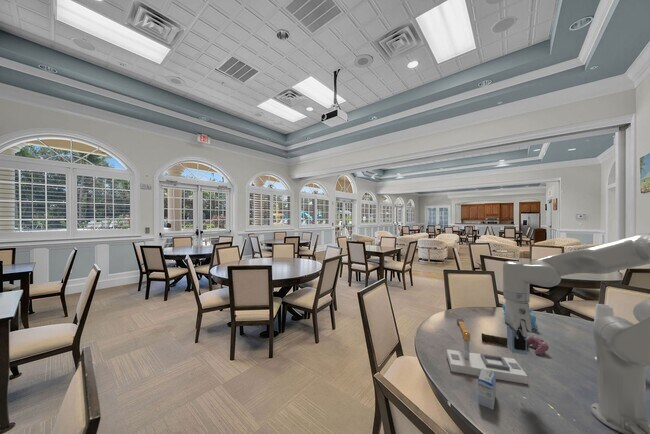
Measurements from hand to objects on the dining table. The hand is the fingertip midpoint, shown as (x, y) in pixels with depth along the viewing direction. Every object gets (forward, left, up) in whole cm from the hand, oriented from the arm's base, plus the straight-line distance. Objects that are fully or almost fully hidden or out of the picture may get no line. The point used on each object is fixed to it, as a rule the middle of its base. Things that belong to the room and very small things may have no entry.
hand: (516, 345), depth 88 cm
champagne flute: (+34, -44, -17) cm, 58 cm away
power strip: (+12, +8, -17) cm, 22 cm away
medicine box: (-8, +12, -17) cm, 22 cm away
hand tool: (+38, -8, -17) cm, 42 cm away
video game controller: (+36, -20, -17) cm, 44 cm away
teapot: (+66, -24, -17) cm, 72 cm away
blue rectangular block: (0, 0, -2) cm, 2 cm away
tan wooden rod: (+19, +14, -5) cm, 24 cm away
